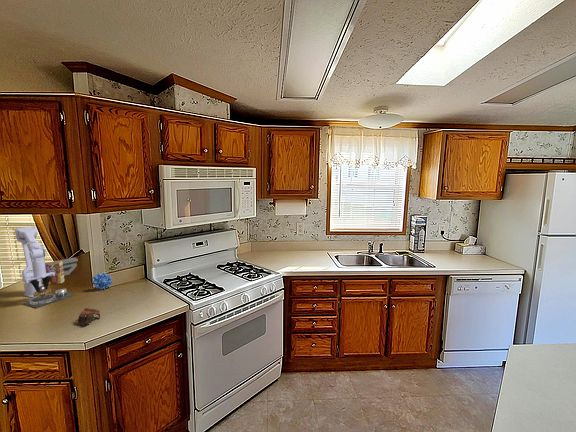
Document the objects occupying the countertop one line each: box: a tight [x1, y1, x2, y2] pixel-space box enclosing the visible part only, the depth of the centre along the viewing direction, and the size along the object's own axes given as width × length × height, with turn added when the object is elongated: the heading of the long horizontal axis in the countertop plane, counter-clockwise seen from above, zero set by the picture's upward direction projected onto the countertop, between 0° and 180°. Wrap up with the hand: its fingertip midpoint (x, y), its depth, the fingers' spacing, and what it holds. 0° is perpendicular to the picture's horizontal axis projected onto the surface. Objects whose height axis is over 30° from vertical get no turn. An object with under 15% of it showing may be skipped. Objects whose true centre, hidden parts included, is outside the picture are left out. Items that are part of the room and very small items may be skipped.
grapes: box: [91, 272, 113, 291], centre depth 193 cm, size 12×7×12 cm, turn 139°
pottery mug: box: [77, 307, 101, 327], centre depth 150 cm, size 12×10×8 cm
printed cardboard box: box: [45, 257, 79, 277], centre depth 223 cm, size 25×8×11 cm, turn 143°
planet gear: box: [33, 285, 52, 298], centre depth 174 cm, size 8×8×4 cm
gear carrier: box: [23, 287, 75, 309], centre depth 178 cm, size 13×20×4 cm, turn 157°
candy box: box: [45, 261, 65, 285], centre depth 207 cm, size 9×4×15 cm, turn 99°
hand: (41, 290), depth 174 cm, fingers closed on planet gear, 4 cm apart
